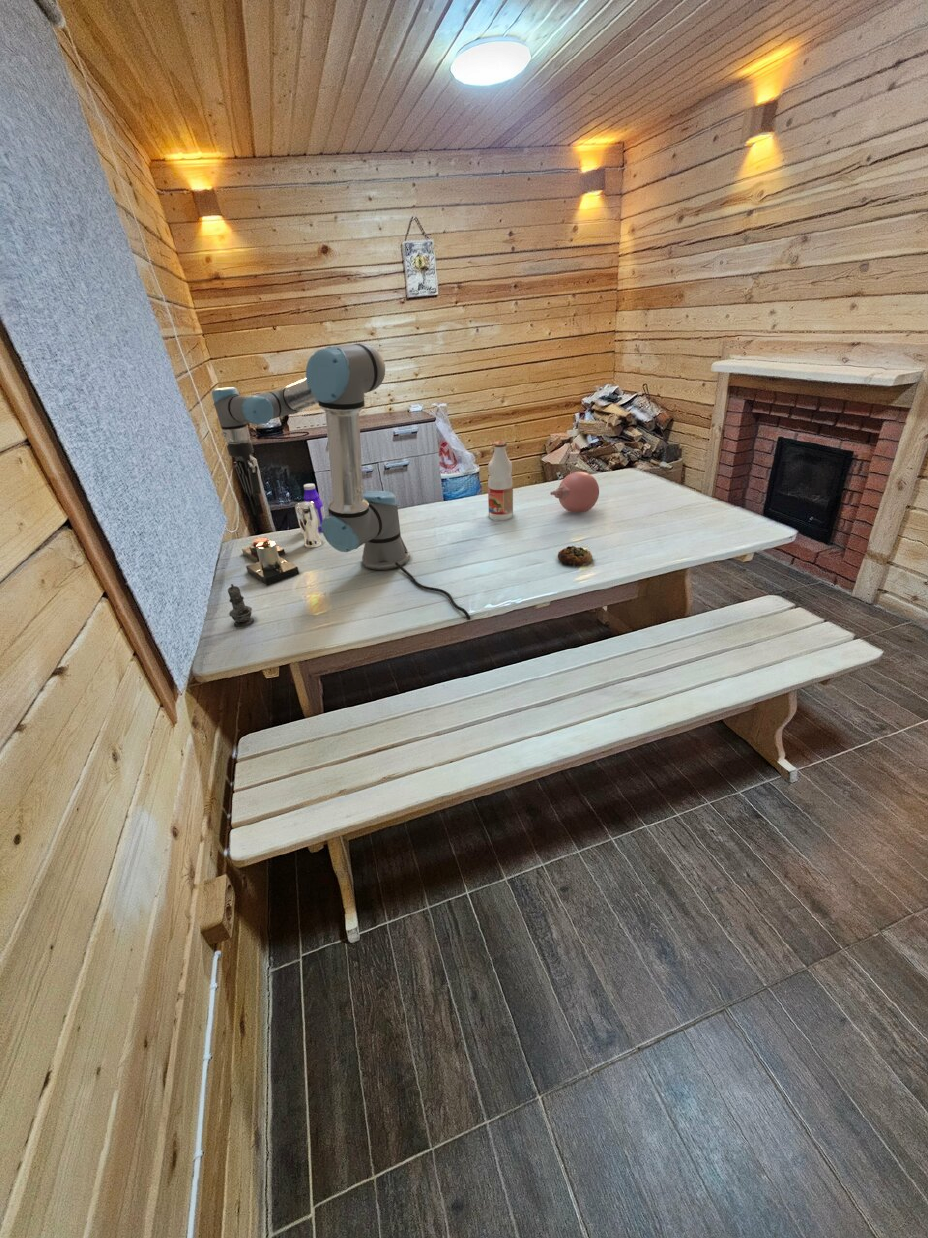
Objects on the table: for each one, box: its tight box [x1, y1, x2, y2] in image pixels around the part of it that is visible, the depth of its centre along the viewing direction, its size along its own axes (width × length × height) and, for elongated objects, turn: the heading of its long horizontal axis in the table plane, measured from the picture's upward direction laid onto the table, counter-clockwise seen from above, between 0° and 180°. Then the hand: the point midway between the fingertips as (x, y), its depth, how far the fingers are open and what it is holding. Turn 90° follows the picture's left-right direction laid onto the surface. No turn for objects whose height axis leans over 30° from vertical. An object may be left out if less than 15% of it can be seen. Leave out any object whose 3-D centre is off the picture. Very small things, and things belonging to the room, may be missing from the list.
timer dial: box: [256, 540, 281, 570], centre depth 165 cm, size 6×6×8 cm
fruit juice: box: [487, 440, 514, 521], centre depth 195 cm, size 9×9×28 cm
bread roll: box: [557, 545, 593, 567], centre depth 165 cm, size 11×11×5 cm
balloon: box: [550, 471, 600, 514], centre depth 197 cm, size 15×20×15 cm
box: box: [241, 538, 286, 563], centre depth 181 cm, size 12×10×4 cm
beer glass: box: [294, 501, 323, 549], centre depth 184 cm, size 7×7×15 cm
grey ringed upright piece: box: [227, 583, 255, 629], centre depth 139 cm, size 6×6×12 cm
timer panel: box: [245, 556, 300, 587], centre depth 168 cm, size 14×11×3 cm
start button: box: [252, 536, 269, 547], centre depth 180 cm, size 5×5×2 cm
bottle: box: [303, 483, 326, 532], centre depth 196 cm, size 7×6×17 cm
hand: (258, 513), depth 174 cm, fingers closed
